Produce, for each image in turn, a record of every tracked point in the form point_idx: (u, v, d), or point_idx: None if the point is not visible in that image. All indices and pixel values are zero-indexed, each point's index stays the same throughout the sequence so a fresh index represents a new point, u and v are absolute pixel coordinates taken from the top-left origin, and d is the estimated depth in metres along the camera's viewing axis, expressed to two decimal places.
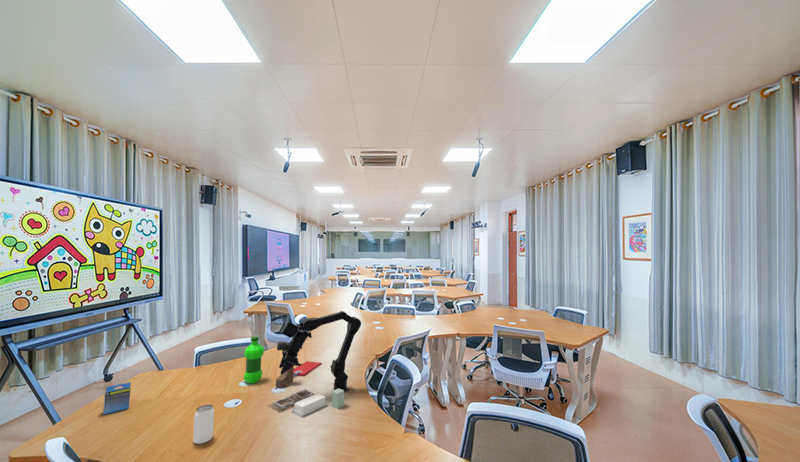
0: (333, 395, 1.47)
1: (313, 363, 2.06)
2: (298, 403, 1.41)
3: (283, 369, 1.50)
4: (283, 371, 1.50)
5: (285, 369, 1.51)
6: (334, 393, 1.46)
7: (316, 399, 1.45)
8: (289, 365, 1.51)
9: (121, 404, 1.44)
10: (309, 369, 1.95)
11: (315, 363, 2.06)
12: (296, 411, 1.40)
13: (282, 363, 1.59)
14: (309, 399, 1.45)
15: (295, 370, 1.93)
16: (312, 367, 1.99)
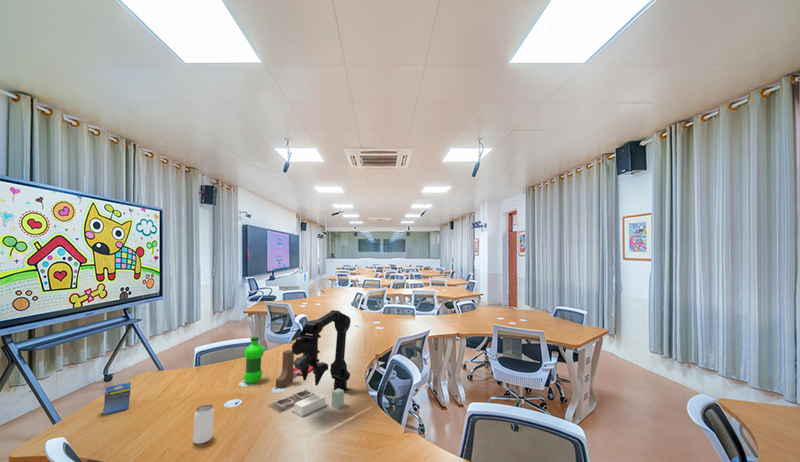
0: (333, 395, 1.47)
1: None
2: (298, 403, 1.41)
3: (317, 380, 1.42)
4: (317, 382, 1.42)
5: (319, 379, 1.43)
6: (334, 393, 1.46)
7: (316, 399, 1.45)
8: (320, 373, 1.43)
9: (121, 404, 1.44)
10: (309, 369, 1.95)
11: None
12: (296, 411, 1.40)
13: (304, 375, 1.48)
14: (309, 399, 1.45)
15: (295, 370, 1.93)
16: (312, 367, 1.99)
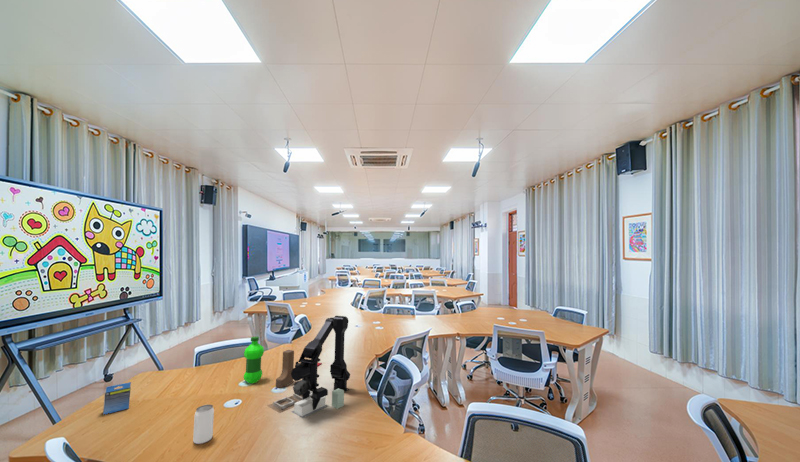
0: (333, 395, 1.47)
1: None
2: (298, 403, 1.41)
3: (314, 405, 1.42)
4: (315, 406, 1.42)
5: (316, 403, 1.42)
6: (334, 393, 1.46)
7: None
8: None
9: (121, 404, 1.44)
10: None
11: None
12: (296, 411, 1.40)
13: None
14: (309, 399, 1.45)
15: None
16: None
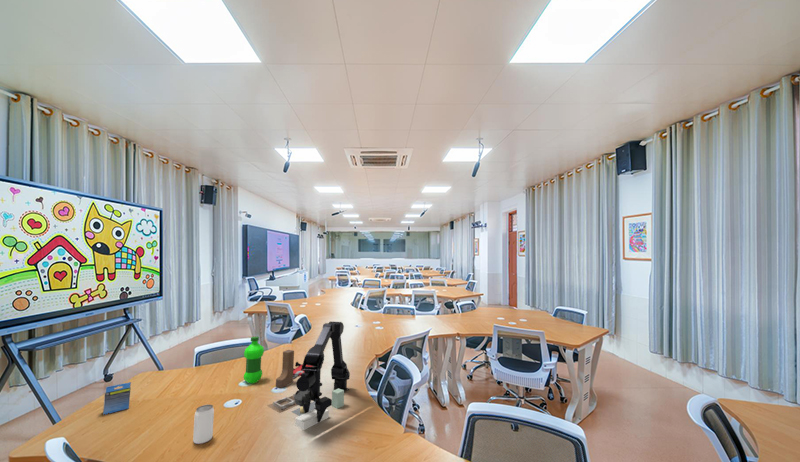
0: (333, 395, 1.47)
1: None
2: (299, 418, 1.30)
3: (319, 417, 1.30)
4: (320, 418, 1.31)
5: (321, 415, 1.31)
6: (334, 393, 1.46)
7: None
8: (323, 409, 1.31)
9: (121, 404, 1.44)
10: None
11: None
12: None
13: (306, 409, 1.36)
14: (311, 413, 1.34)
15: (296, 370, 1.92)
16: None
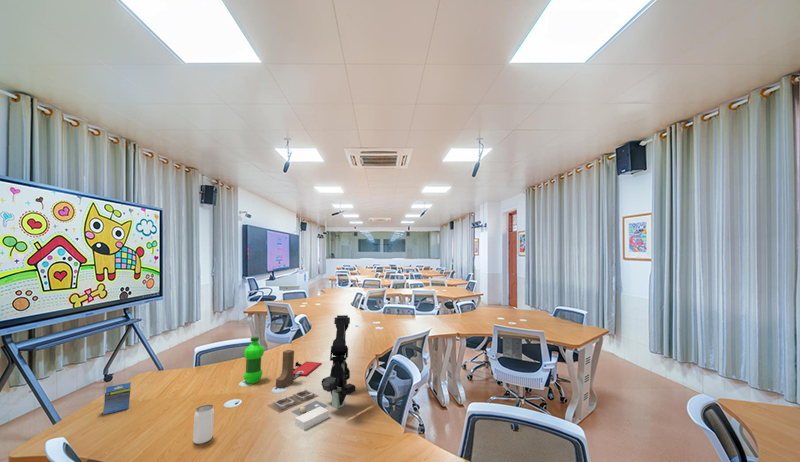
0: (333, 395, 1.47)
1: (313, 363, 2.06)
2: (299, 418, 1.30)
3: (341, 400, 1.45)
4: (342, 401, 1.46)
5: (343, 399, 1.46)
6: (334, 393, 1.46)
7: (319, 413, 1.34)
8: None
9: (121, 404, 1.44)
10: (310, 369, 1.95)
11: (315, 363, 2.06)
12: None
13: None
14: (311, 413, 1.34)
15: (296, 370, 1.92)
16: (313, 367, 1.99)
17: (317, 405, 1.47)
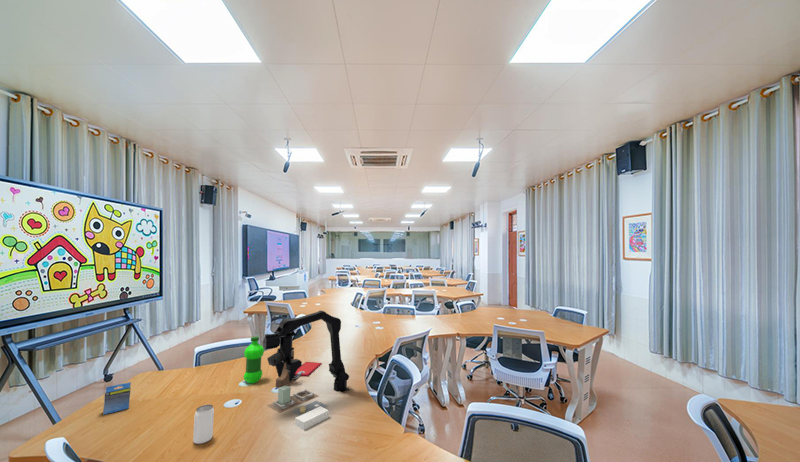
0: (279, 392, 1.47)
1: (313, 363, 2.06)
2: (299, 418, 1.30)
3: (290, 376, 1.45)
4: (291, 378, 1.46)
5: (292, 375, 1.46)
6: (280, 390, 1.47)
7: (319, 413, 1.34)
8: (294, 370, 1.46)
9: (121, 404, 1.44)
10: (311, 369, 1.95)
11: (315, 363, 2.06)
12: None
13: (279, 371, 1.52)
14: (311, 413, 1.34)
15: (297, 371, 1.91)
16: (313, 367, 1.98)
17: (317, 405, 1.47)
